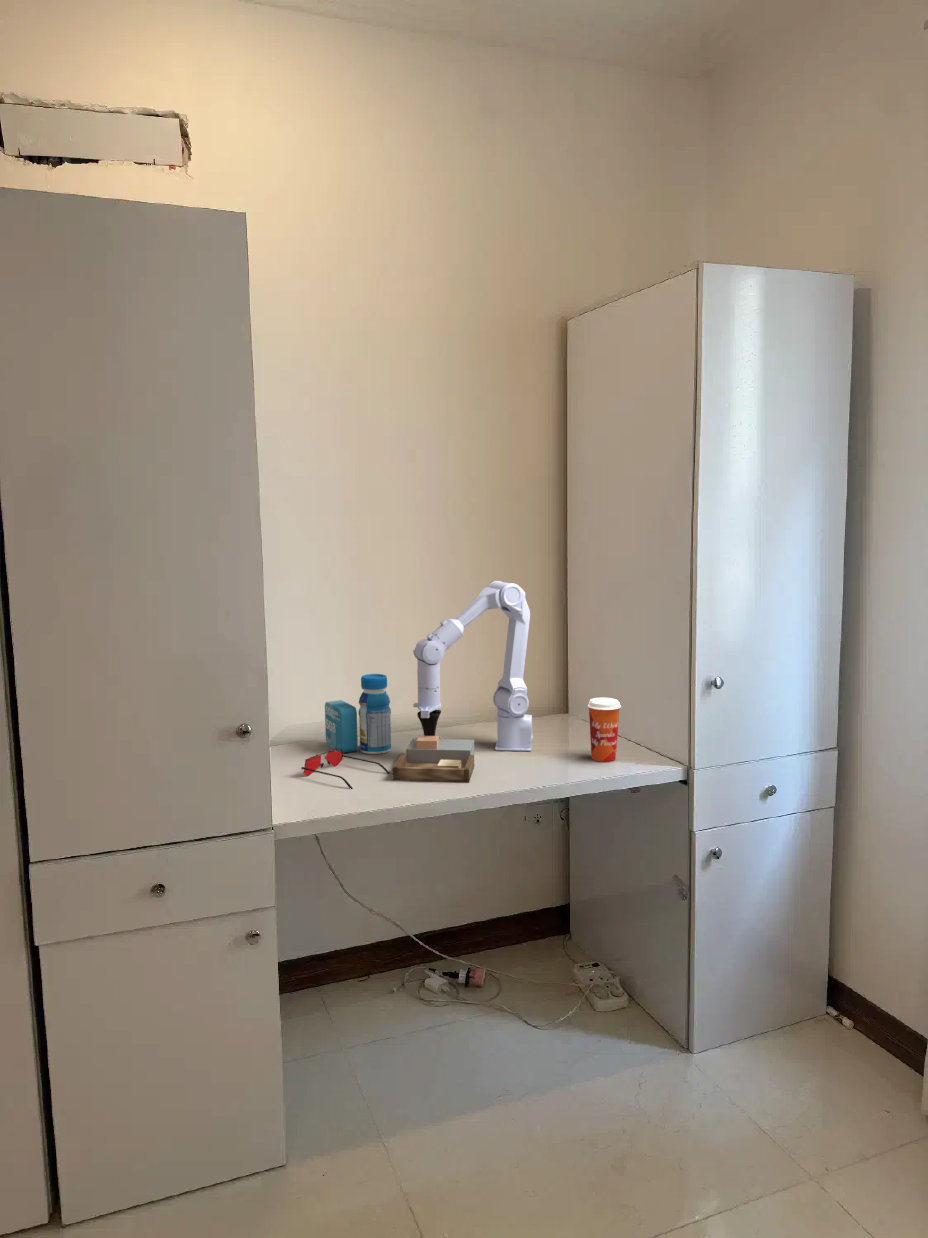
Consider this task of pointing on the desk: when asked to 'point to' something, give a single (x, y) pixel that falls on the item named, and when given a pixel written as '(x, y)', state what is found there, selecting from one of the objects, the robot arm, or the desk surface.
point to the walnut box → (431, 771)
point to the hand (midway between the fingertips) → (429, 739)
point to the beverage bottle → (374, 715)
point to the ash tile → (449, 764)
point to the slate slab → (441, 751)
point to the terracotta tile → (427, 742)
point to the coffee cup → (603, 728)
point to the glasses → (332, 759)
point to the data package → (341, 726)
